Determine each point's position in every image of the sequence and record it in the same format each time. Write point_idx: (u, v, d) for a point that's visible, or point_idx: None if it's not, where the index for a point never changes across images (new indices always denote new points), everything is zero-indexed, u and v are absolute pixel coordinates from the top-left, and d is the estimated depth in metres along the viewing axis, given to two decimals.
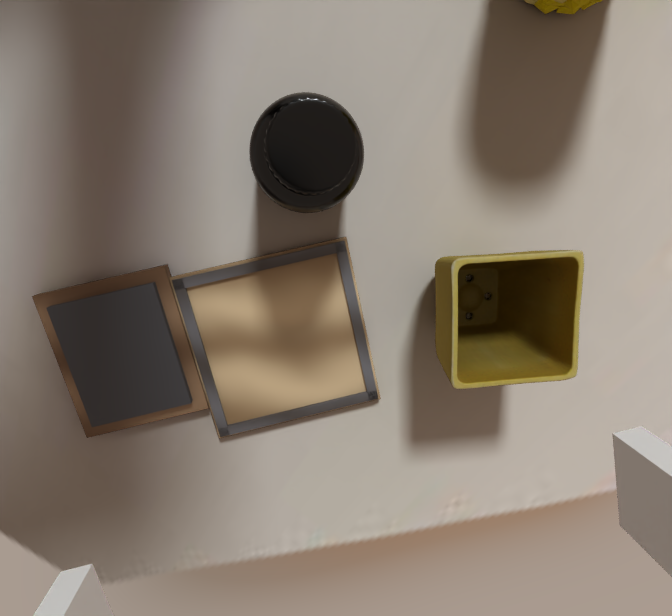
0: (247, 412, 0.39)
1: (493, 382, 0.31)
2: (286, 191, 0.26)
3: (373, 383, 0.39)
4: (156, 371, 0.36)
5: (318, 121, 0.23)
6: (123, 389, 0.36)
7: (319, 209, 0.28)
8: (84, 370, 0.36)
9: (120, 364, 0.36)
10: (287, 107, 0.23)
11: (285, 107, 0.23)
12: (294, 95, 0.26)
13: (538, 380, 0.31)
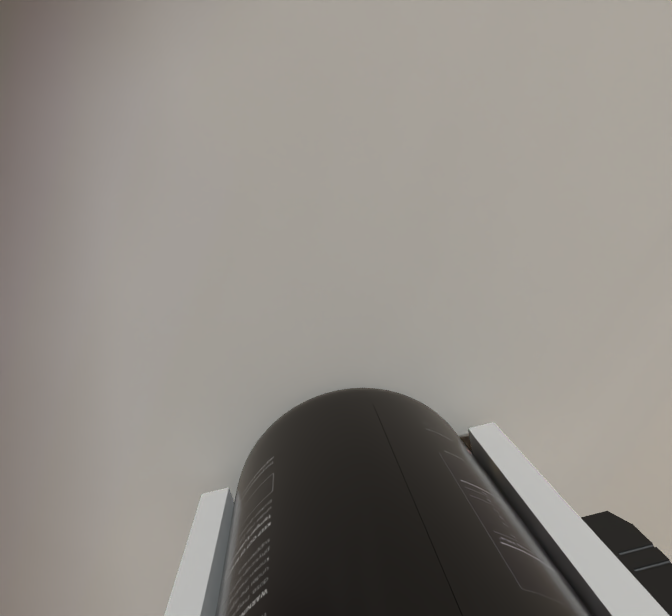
0: None
1: None
2: None
3: None
4: None
5: None
6: None
7: None
8: None
9: None
10: None
11: None
12: None
13: None
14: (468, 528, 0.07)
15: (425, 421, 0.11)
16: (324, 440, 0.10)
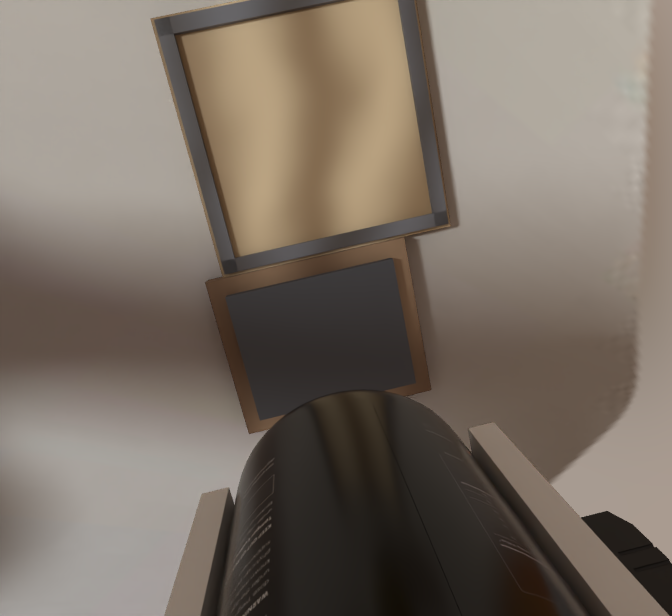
0: (415, 184, 0.27)
1: None
2: None
3: None
4: (344, 300, 0.27)
5: None
6: (367, 342, 0.28)
7: None
8: (340, 385, 0.29)
9: (334, 344, 0.28)
10: None
11: None
12: None
13: None
14: (469, 531, 0.07)
15: (425, 423, 0.11)
16: (324, 441, 0.10)
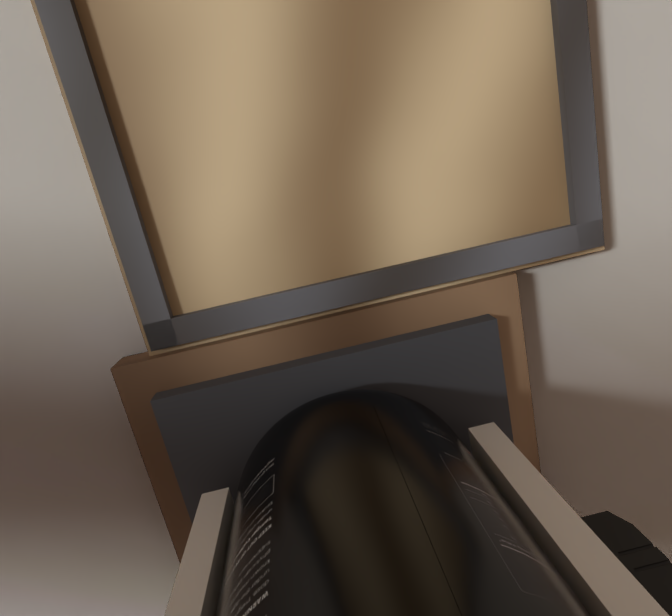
0: (541, 166, 0.13)
1: None
2: None
3: None
4: None
5: None
6: None
7: None
8: None
9: None
10: None
11: None
12: None
13: None
14: (469, 531, 0.07)
15: (425, 423, 0.11)
16: (324, 442, 0.10)
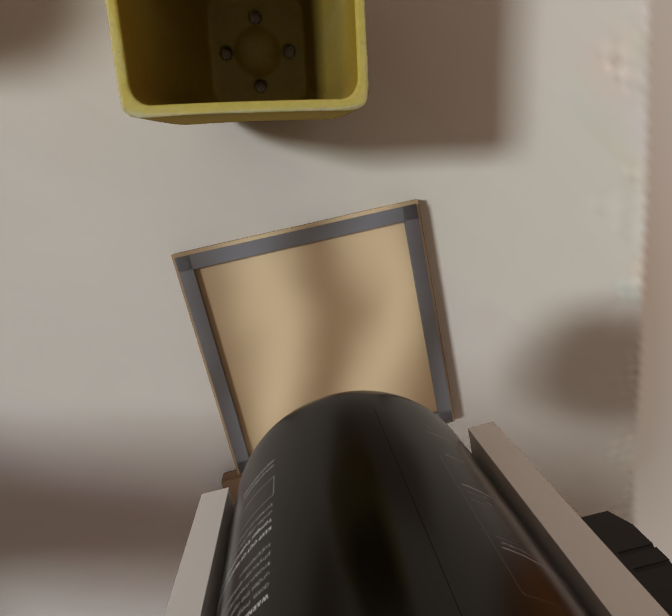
0: (421, 387, 0.29)
1: (357, 21, 0.16)
2: None
3: (391, 212, 0.26)
4: None
5: None
6: None
7: None
8: None
9: None
10: None
11: None
12: None
13: None
14: (469, 533, 0.07)
15: (426, 424, 0.11)
16: (324, 443, 0.10)
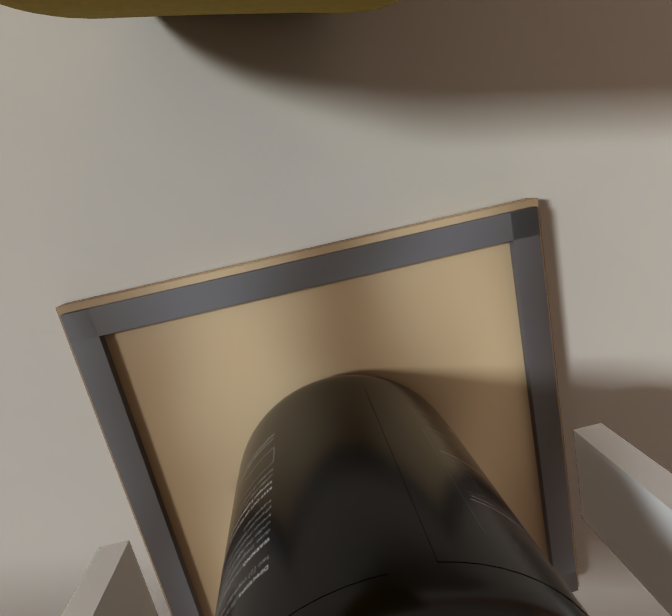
0: None
1: None
2: None
3: (488, 222, 0.13)
4: None
5: None
6: None
7: None
8: None
9: None
10: None
11: None
12: None
13: None
14: (443, 487, 0.08)
15: (411, 403, 0.12)
16: (319, 418, 0.11)
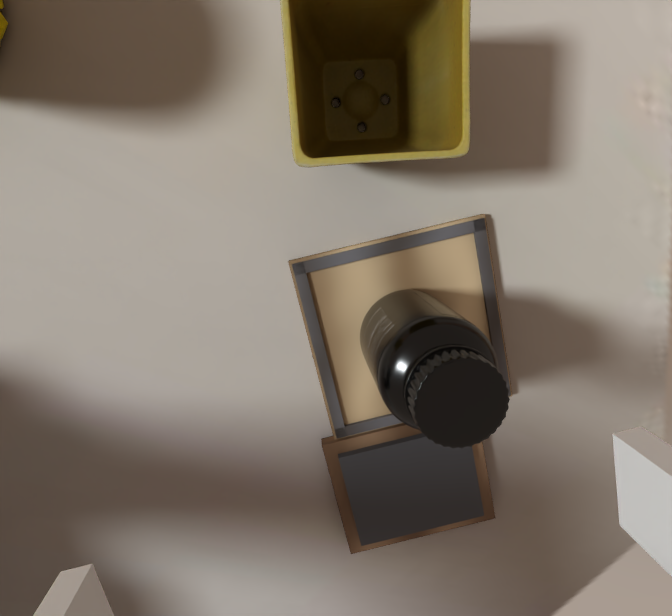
0: None
1: (464, 94, 0.22)
2: None
3: (464, 225, 0.32)
4: (430, 457, 0.35)
5: (471, 380, 0.22)
6: (447, 487, 0.36)
7: None
8: (424, 519, 0.36)
9: (421, 489, 0.36)
10: (440, 368, 0.22)
11: (437, 368, 0.22)
12: (430, 324, 0.24)
13: (467, 22, 0.21)
14: (444, 308, 0.27)
15: (433, 297, 0.31)
16: (399, 299, 0.30)
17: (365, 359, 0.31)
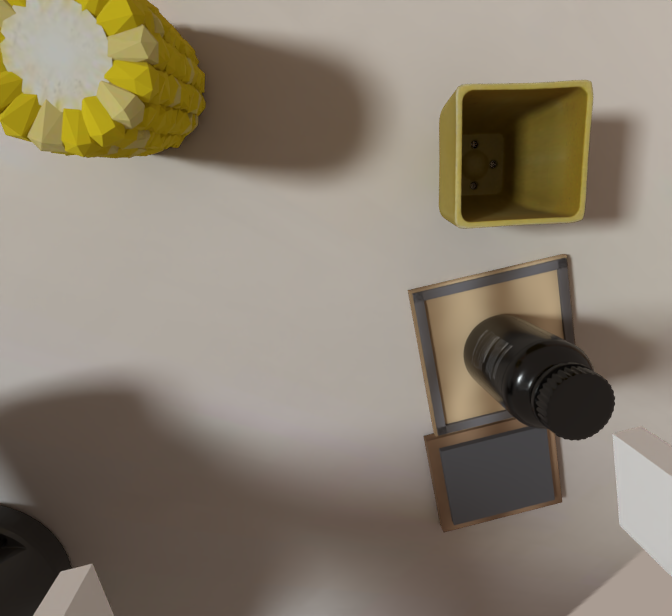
0: None
1: (583, 177, 0.30)
2: (537, 420, 0.33)
3: (550, 263, 0.40)
4: (514, 451, 0.43)
5: (589, 389, 0.29)
6: (526, 476, 0.43)
7: None
8: (506, 502, 0.44)
9: (505, 477, 0.43)
10: (567, 380, 0.29)
11: (565, 380, 0.29)
12: (548, 346, 0.32)
13: (589, 126, 0.29)
14: (548, 332, 0.35)
15: (527, 321, 0.39)
16: (503, 323, 0.38)
17: (474, 371, 0.38)
